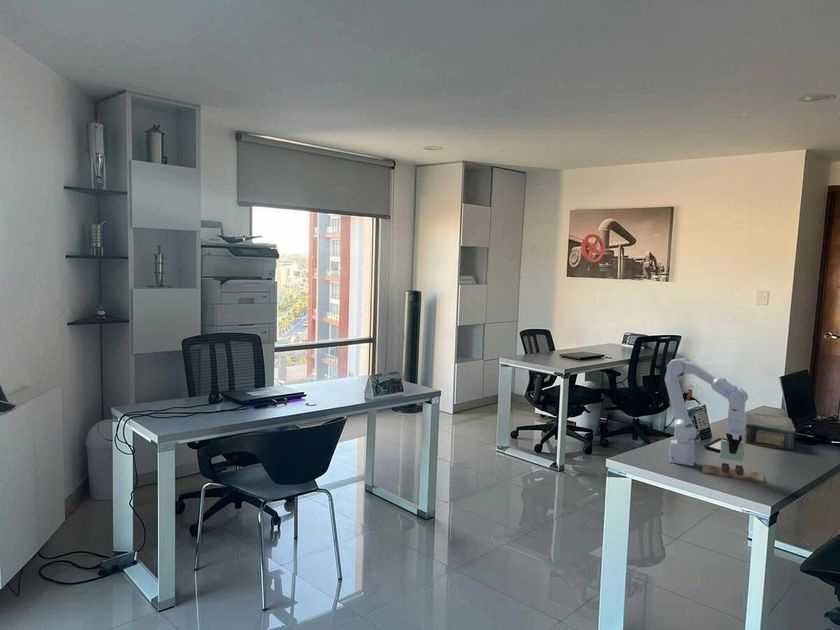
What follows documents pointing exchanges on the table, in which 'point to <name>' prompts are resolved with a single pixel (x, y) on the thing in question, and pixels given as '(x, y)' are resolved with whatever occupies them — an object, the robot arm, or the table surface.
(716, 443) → the decorative sign
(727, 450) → the door panel
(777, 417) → the metal box
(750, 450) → the table surface
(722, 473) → the rail
